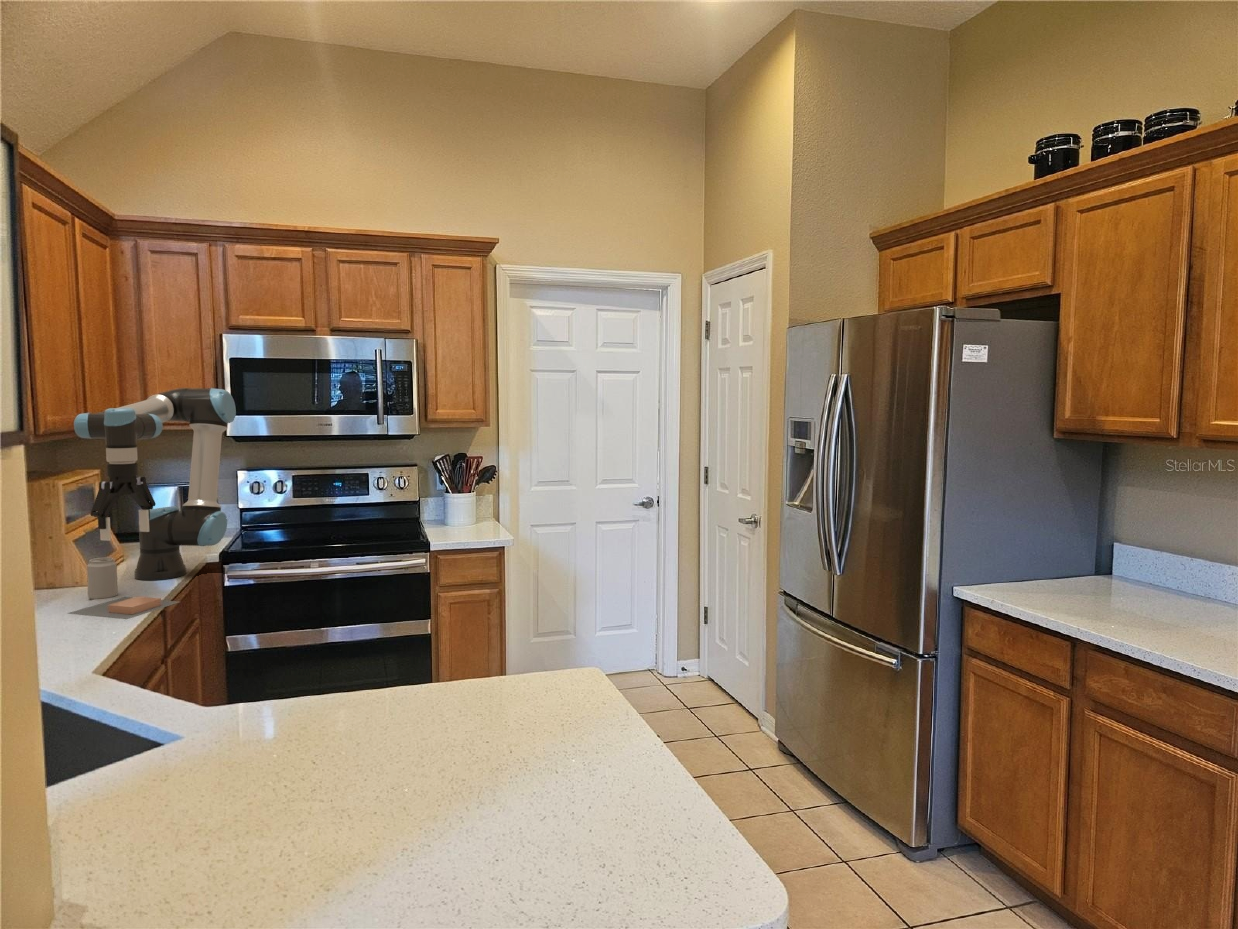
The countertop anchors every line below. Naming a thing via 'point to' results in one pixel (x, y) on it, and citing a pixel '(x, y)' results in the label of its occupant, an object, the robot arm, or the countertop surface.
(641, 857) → the countertop surface
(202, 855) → the countertop surface
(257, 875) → the countertop surface
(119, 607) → the tile
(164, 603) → the mat
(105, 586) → the can
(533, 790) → the countertop surface
